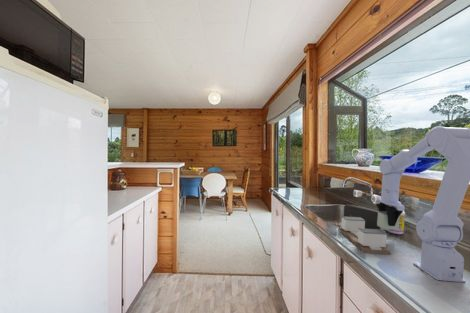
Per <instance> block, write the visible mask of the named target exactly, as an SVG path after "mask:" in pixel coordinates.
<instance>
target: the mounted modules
mask: <svg viewBox="0 0 470 313" xmlns="http://www.w3.org/2000/svg"><path fill="white" fill-rule="evenodd" d="M341 228H343V229H344V230H345V231H358V242H359V243H361V244H362V245H363V246H376V247H385V248H387V237H388V236H387V235H388V233H387V232H385V231H384V230H382V229H381V228H380V229H365V220H364V219H362V218H361V217H346V216H344V215H343V216H341Z"/></svg>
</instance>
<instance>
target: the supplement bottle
mask: <svg viewBox="0 0 470 313" xmlns="http://www.w3.org/2000/svg"><path fill="white" fill-rule="evenodd" d="M405 219H406V212H405V210H404V211H403V212H402V213H401V215H400V220H399V230H394V229H385V230H386V231H387V232H388V233H391V234H396V235H403V234H404V231H405V230H404V229H405Z"/></svg>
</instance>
